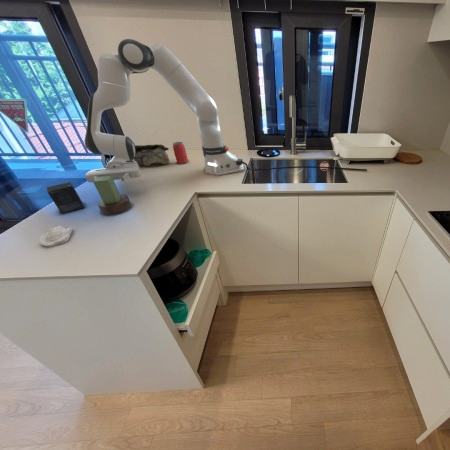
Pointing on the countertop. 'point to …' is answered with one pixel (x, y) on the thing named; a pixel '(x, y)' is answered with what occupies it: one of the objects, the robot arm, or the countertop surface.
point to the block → (107, 189)
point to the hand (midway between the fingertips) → (109, 180)
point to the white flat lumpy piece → (55, 236)
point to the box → (65, 197)
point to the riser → (115, 206)
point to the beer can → (180, 152)
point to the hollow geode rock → (151, 154)
